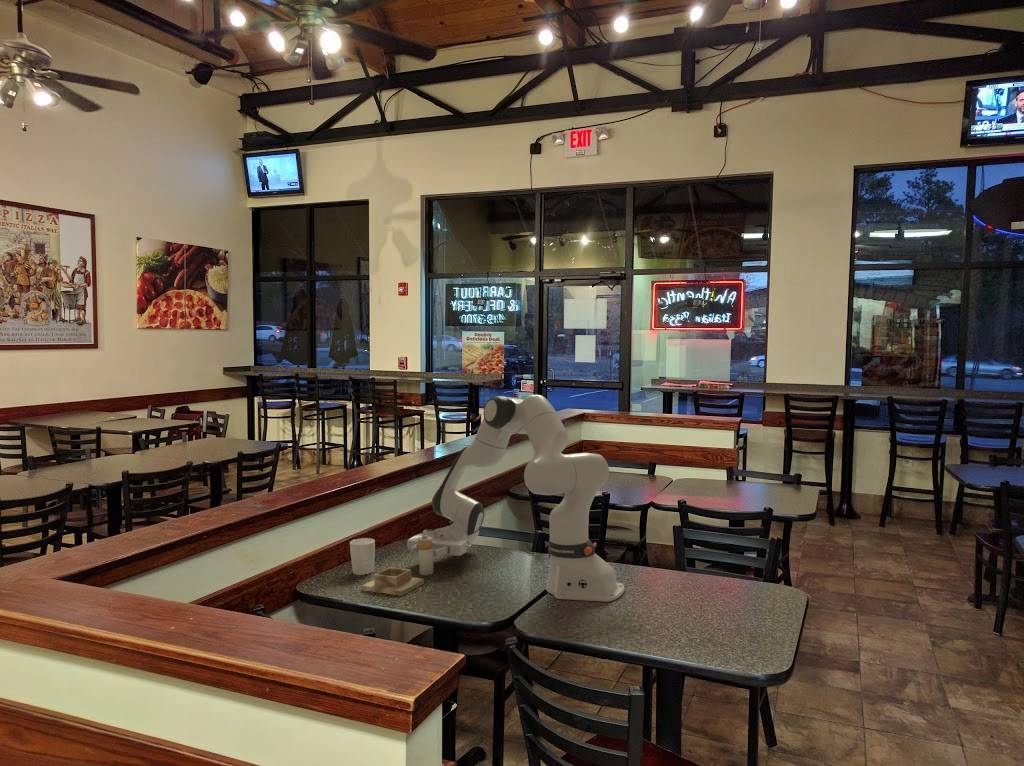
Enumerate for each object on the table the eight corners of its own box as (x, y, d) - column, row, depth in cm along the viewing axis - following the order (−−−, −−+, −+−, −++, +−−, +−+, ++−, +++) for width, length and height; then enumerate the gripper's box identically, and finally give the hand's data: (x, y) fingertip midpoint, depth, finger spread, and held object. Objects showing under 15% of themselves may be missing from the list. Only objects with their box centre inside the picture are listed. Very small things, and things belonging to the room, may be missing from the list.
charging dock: (424, 583, 215) (423, 568, 215) (401, 596, 204) (400, 581, 204) (386, 578, 221) (385, 564, 221) (361, 590, 210) (361, 575, 210)
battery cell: (436, 571, 226) (434, 534, 225) (428, 576, 222) (427, 538, 221) (424, 570, 228) (422, 533, 227) (416, 574, 224) (415, 536, 223)
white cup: (348, 570, 230) (347, 540, 230) (372, 567, 234) (371, 536, 233) (354, 577, 223) (352, 546, 223) (378, 573, 226) (377, 542, 226)
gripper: (474, 553, 232) (453, 565, 219) (421, 547, 241) (398, 558, 228) (474, 534, 232) (452, 544, 219) (421, 529, 241) (397, 539, 228)
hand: (424, 552), depth 224 cm, fingers open, 7 cm apart
